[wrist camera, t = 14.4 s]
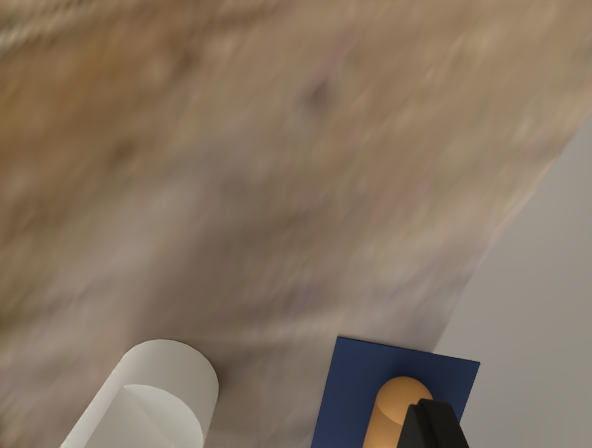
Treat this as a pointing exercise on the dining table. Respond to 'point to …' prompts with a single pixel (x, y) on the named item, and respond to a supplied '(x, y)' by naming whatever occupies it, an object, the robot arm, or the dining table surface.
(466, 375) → the napkin
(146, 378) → the base with upright slab
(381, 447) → the bread roll
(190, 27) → the dining table surface
